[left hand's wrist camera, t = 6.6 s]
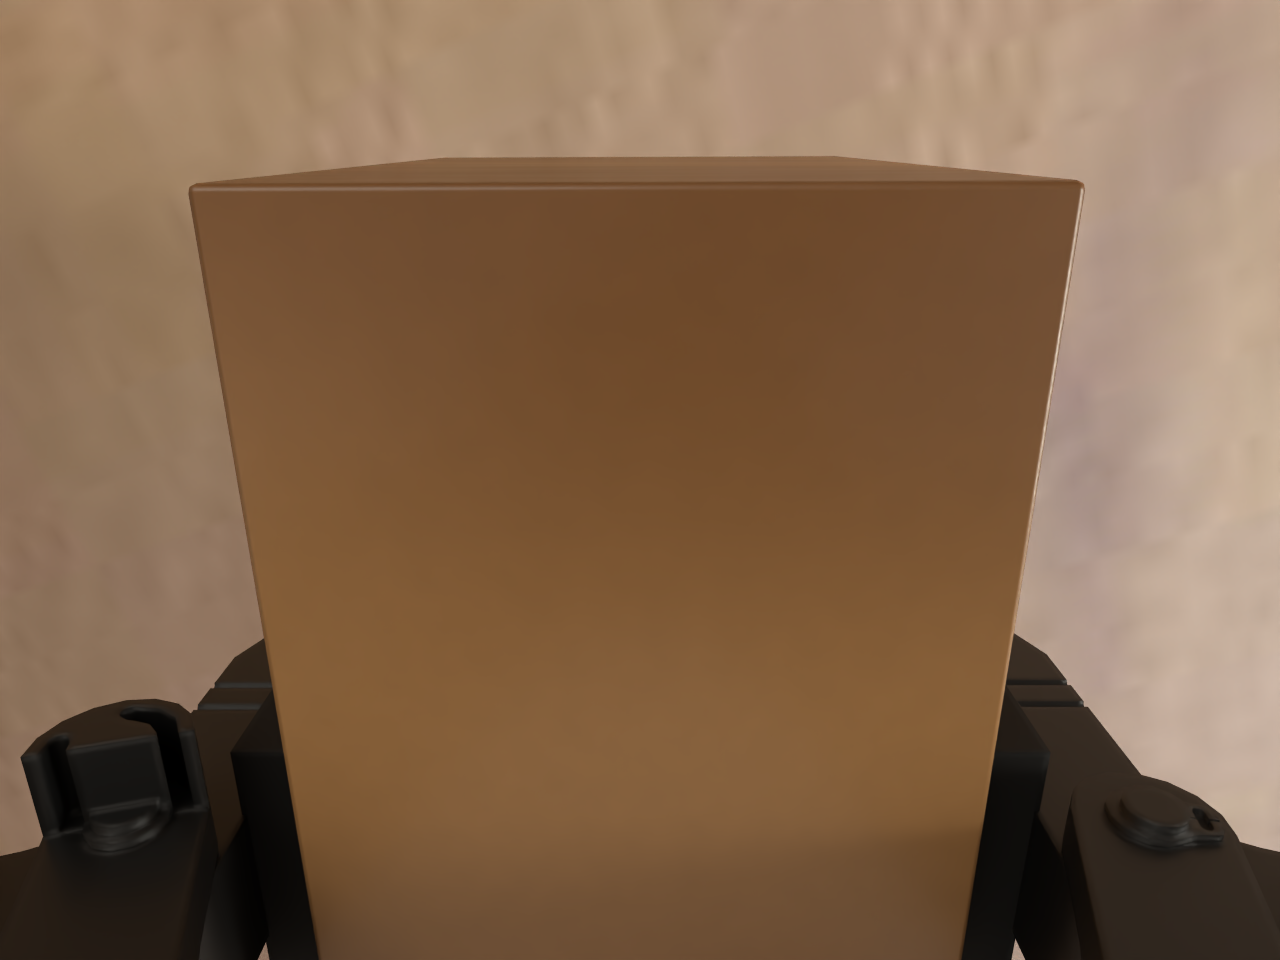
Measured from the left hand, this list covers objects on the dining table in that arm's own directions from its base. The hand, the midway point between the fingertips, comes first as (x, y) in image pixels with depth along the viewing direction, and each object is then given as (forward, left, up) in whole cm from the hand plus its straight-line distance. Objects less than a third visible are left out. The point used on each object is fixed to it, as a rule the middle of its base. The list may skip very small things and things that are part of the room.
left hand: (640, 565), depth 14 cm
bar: (+29, +6, -1) cm, 29 cm away
